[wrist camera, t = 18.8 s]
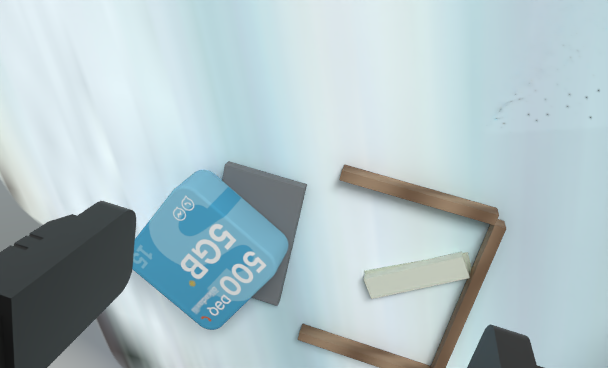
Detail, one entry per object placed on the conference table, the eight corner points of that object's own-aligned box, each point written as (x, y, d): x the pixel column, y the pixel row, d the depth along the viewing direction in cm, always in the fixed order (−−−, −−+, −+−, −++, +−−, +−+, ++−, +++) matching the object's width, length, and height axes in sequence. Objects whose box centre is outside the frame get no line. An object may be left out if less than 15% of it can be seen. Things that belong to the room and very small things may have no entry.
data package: (181, 179, 44) (283, 266, 45) (202, 162, 48) (295, 242, 49) (118, 259, 49) (211, 336, 50) (142, 238, 54) (228, 309, 54)
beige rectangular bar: (473, 270, 48) (474, 282, 46) (372, 288, 51) (370, 299, 50) (466, 245, 47) (467, 255, 46) (364, 264, 51) (362, 275, 49)
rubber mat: (306, 184, 48) (304, 188, 47) (279, 300, 54) (277, 305, 53) (228, 161, 49) (224, 164, 48) (210, 277, 55) (206, 282, 54)
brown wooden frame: (508, 211, 44) (510, 218, 43) (437, 376, 53) (437, 386, 51) (344, 164, 46) (341, 170, 45) (300, 330, 54) (297, 339, 53)
